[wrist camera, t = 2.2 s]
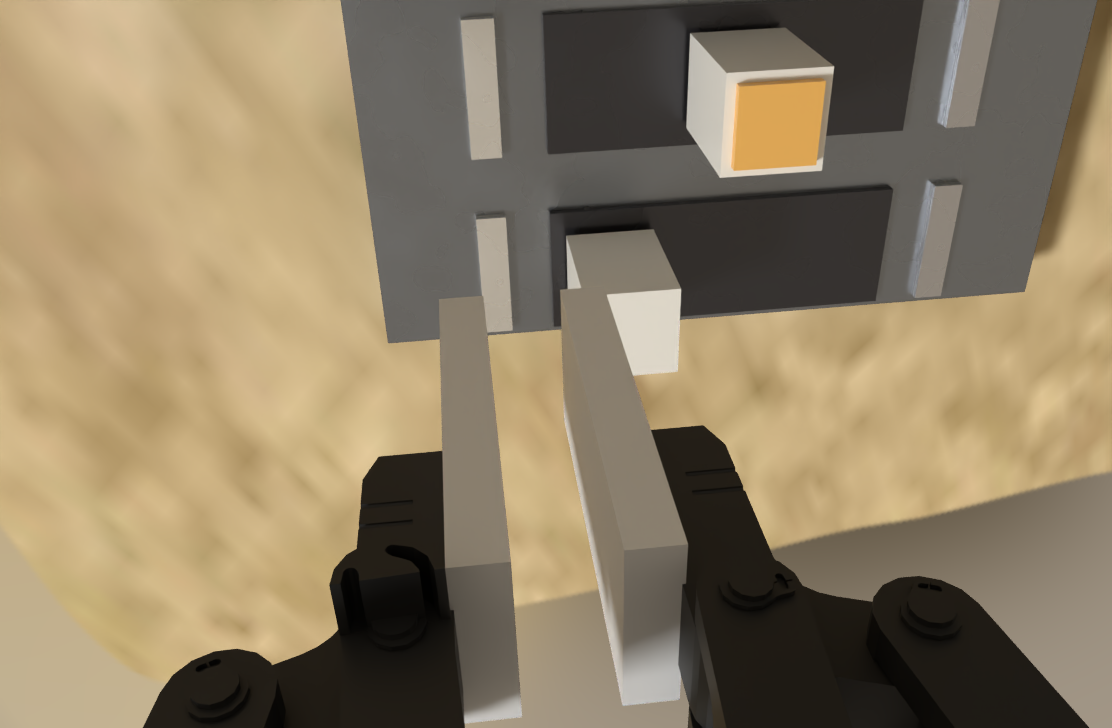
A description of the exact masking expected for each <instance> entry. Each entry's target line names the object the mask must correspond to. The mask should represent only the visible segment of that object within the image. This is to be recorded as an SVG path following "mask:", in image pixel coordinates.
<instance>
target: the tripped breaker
mask: <svg viewBox="0 0 1112 728" xmlns="http://www.w3.org/2000/svg"><path fill="white" fill-rule="evenodd" d="M833 73H834V66H833V65H832V64H831V63H829V62H828V61H827V60H826V59H824V58H823V57H822V56H821V55H819V54H818V53H817V52H815V51H814V50H813V49H812V48H810V47H809V46H808V45H807V44H805V43H804V42H803V41H802V40H800V39H799V38H798V37H797V36H795V35H794V34H793V33H792V32H790V31H789V30H788V29H786V28H769V29H752V30H734V31H717V32H700V33H690V51H689V75H688V99H687V123H686V128H687V130H688V131H689V133H690V134H691V135H692V137H693V138H694V140H695V141H696V143H697V144H698V146H699V147H700V149H701V150H702V152H703V153H704V155H705V156H706V158H707V159H708V161H709V162H710V164H711V165H712V167H713V168H714V170H715V171H716V172H717V174H718V175H719V177H720V178H725V177H739V176H753V175H768V174H782V173H796V172H811V171H822V165H823V157H824V149H825V140H826V132H827V123H828V115H829V106H830V98H831V90H832V81H833Z"/></svg>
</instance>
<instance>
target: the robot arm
mask: <svg viewBox="0 0 1112 728" xmlns="http://www.w3.org/2000/svg"><path fill="white" fill-rule="evenodd" d="M560 297H561V330H562V363H563V396H564V421H565V425H566V430H567V435H568V440H569V445H570V450H571V455H572V460H573V465H574V470H575V474H576V479H577V484H578V489H579V494H580V499H581V504H582V509H583V514H584V519H585V523H586V528H587V533H588V538H589V543H590V548H591V553H592V558H593V563H594V568H595V572H596V577H597V582H598V587H599V592H600V597H601V602H602V607H603V611H604V617H605V621H606V626H607V631H608V636H609V640H610V646H611V651H612V656H613V661H614V666H615V670H616V675H617V680H618V685H619V690H620V695H621V700H622V705H623V706H626V705H635V704H644V703H653V702H662V701H671V700H679V699H680V683H681V677H682V680H683V684H684V688H685V691H686V695H687V699H688V702H689V717H688V728H1089V727H1088V726H1087V725H1086V724H1085V722H1084V721H1083V720H1082V719H1081V718H1080V717H1079V716H1078V715H1077V713H1075V711H1074V710H1073V709H1072V708H1071V707H1070V706H1069V704H1068V703H1067V702H1066V701H1065V700H1064V699H1063V698H1062V697H1061V695H1060V694H1059V693H1058V692H1057V691H1056V690H1055V689H1054V688H1053V687H1052V685H1051V684H1050V683H1049V682H1048V681H1047V680H1046V679H1045V678H1044V676H1043V675H1042V674H1041V673H1040V672H1039V671H1038V670H1037V668H1036V667H1034V665H1033V664H1032V663H1031V662H1030V661H1029V660H1028V658H1027V657H1026V656H1025V655H1024V654H1023V653H1022V652H1021V650H1020V649H1019V648H1018V647H1017V646H1016V645H1015V644H1014V643H1013V641H1011V639H1010V638H1009V637H1008V636H1007V635H1006V634H1005V632H1004V631H1003V630H1002V629H1001V628H1000V627H999V626H998V625H997V624H996V622H995V621H994V620H993V619H992V618H991V617H990V616H989V615H988V614H987V612H986V611H985V610H984V609H983V608H982V607H981V606H980V604H979V603H978V602H976V601H975V600H974V599H973V598H971V597H970V596H969V595H968V594H966V593H965V592H964V591H963V590H962V589H959V588H957V587H955V586H953V585H951V584H948V583H946V582H944V581H942V580H937V579H932V578H926V577H921V576H915V577H903V578H897V579H895V580H893V581H891V582H889V583H887V584H884V585H883V586H882V587H881V588H880V589H879V591H878V592H877V594H876V595H875V596H874V598H873V602H869V601H863V600H856V599H850V598H842V597H836V596H832V595H827V594H823V593H819V592H816V591H814V590H811V589H809V588H807V587H804V586H802V584H801V583H800V581H799V579H798V578H797V576H796V575H795V573H794V572H792V571H791V570H790V569H788V568H787V567H786V566H784V565H783V564H782V563H780V562H779V561H776V560H775V559H774V557H773V555H772V553H771V551H770V548H769V546H768V544H767V541H766V539H765V537H764V534H763V532H762V530H761V527H760V525H759V522H758V520H757V518H756V515H755V513H754V511H753V508H752V506H751V504H750V501H749V499H748V497H747V494H746V492H745V491H743V485H742V483H741V480H740V478H739V476H738V473H737V472H735V466H734V464H733V461H732V459H731V457H730V454H729V452H728V450H727V447H726V445H725V444H724V443H723V442H722V441H721V440H720V439H718V438H717V437H716V436H715V435H714V434H713V433H711V432H710V431H709V430H708V429H707V428H706V427H704V426H703V425H702V426H691V427H680V428H669V429H658V430H651V429H650V426H649V423H648V420H647V417H646V414H645V411H644V408H643V405H642V402H641V399H640V395H639V392H638V389H637V386H636V383H635V380H634V377H633V374H632V371H631V368H630V365H629V362H628V359H627V356H626V353H625V350H624V347H623V343H622V340H621V337H620V334H619V331H618V328H617V325H616V322H615V319H614V316H613V313H612V310H611V307H610V304H609V301H608V298H607V295H606V291H605V288H604V286H602V287H589V288H576V289H563V290H560ZM439 324H440V368H441V411H442V451H437V452H426V453H415V454H404V455H392V456H381V457H378V459H377V460H376V461H375V463H374V464H373V466H372V467H371V469H370V470H369V472H368V473H367V474H366V476H365V477H364V479H363V483H362V494H361V509H360V518H359V530H358V541H357V549H356V550H354V551H352V552H351V553H349V554H347V555H346V556H345V557H344V558H343V559H342V561H341V562H340V563H339V564H338V565H337V566H336V568H335V569H334V571H333V575H332V578H331V581H330V590H331V595H332V600H333V605H334V610H335V615H336V619H337V624H338V629H339V630H338V631H337V632H336V633H335V634H334V635H333V636H332V637H331V638H329V639H328V640H327V641H325V642H324V643H322V644H321V645H319V646H318V647H316V648H314V649H312V650H310V651H308V652H306V653H304V654H301V655H299V656H296V657H293V658H291V659H288V660H285V661H283V662H280V663H277V664H274V665H271V663H270V662H269V661H267V660H266V659H265V658H263V657H262V656H260V655H259V654H258V653H255V652H250V651H245V650H240V649H231V650H223V651H215V652H212V653H210V654H207V655H205V656H202V657H200V658H197V659H195V660H193V661H191V662H190V663H188V664H187V665H186V666H184V667H183V668H182V669H180V670H179V671H178V672H176V673H175V674H174V675H173V676H172V677H171V678H170V680H169V681H168V683H167V684H166V685H165V687H164V688H163V689H162V691H161V692H160V694H159V696H158V698H157V700H156V702H155V704H154V706H153V708H152V710H151V712H150V714H149V716H148V718H147V721H146V723H145V725H144V727H143V728H465V723H473V722H482V721H491V720H499V719H509V718H517V717H522V710H521V696H520V682H519V671H518V670H519V669H518V655H517V641H516V627H515V615H514V614H515V613H514V599H513V585H512V571H511V559H510V549H509V539H508V530H507V520H506V510H505V501H504V491H503V481H502V472H501V462H500V452H499V443H498V433H497V423H496V414H495V404H494V394H493V385H492V375H491V365H490V356H489V346H488V336H487V327H486V317H485V307H484V298H483V296H474V297H461V298H448V299H439Z"/></svg>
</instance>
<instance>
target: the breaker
mask: <svg viewBox="0 0 1112 728" xmlns="http://www.w3.org/2000/svg"><path fill="white" fill-rule="evenodd" d="M566 243H567V281H568V289H576V288H589V287H602V286H604V288H605V291H606V295H607V298H608V301H609V304H610V307H611V310H612V313H613V316H614V319H615V322H616V325H617V328H618V331H619V334H620V337H621V340H622V343H623V347H624V350H625V353H626V356H627V359H628V362H629V365H630V368H631V371H632V374H633V375H645V374H656V373H668V372H678V353H679V329H680V306H681V287H680V285H679V283H678V281H677V279H676V277H675V274H674V272H673V270H672V268H671V266H670V264H669V262H668V259H667V257H666V255H665V253H664V251H663V249H662V247H661V244H660V242H659V240H658V238H657V236H656V234H655V232H654V229H650V230H637V231H623V232H609V233H596V234H582V235H569V236H566Z"/></svg>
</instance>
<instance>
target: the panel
mask: <svg viewBox="0 0 1112 728" xmlns="http://www.w3.org/2000/svg"><path fill="white" fill-rule="evenodd" d="M1096 3H1097V0H341V6H342V13H343V21H344V28H345V35H346V42H347V50H348V57H349V64H350V71H351V78H352V86H353V93H354V100H355V107H356V115H357V122H358V129H359V136H360V143H361V151H362V158H363V165H364V172H365V180H366V187H367V194H368V201H369V208H370V216H371V223H372V230H373V237H374V245H375V252H376V259H377V266H378V273H379V281H380V288H381V295H382V302H383V310H384V317H385V324H386V331H387V338H388V343H398V342H410V341H423V340H435V339H440V324H439V299H448V298H461V297H474V296H483V298H484V307H485V317H486V327H487V335H497V334H509V333H522V332H534V331H546V330H559V329H561V297H560V290H563V289H568V281H567V243H566V236H569V235H582V234H596V233H609V232H623V231H637V230H650V229H654V232H655V234H656V236H657V238H658V240H659V242H660V244H661V247H662V249H663V251H664V253H665V255H666V257H667V259H668V262H669V264H670V266H671V268H672V270H673V272H674V274H675V277H676V279H677V281H678V283H679V285H680V287H681V306H680V320H682V319H695V318H707V317H719V316H732V315H744V314H756V313H769V312H781V311H793V310H806V309H818V308H830V307H843V306H855V305H868V304H880V303H892V302H905V301H917V300H929V299H942V298H954V297H966V296H979V295H991V294H1003V293H1016V292H1025V288H1026V284H1027V280H1028V276H1029V272H1030V268H1031V264H1032V260H1033V256H1034V252H1035V248H1036V244H1037V240H1038V236H1039V232H1040V228H1041V224H1042V220H1043V216H1044V212H1045V208H1046V204H1047V200H1048V196H1049V192H1050V188H1051V184H1052V180H1053V176H1054V172H1055V168H1056V164H1057V160H1058V156H1059V152H1060V148H1061V144H1062V140H1063V136H1064V132H1065V128H1066V124H1067V120H1068V116H1069V112H1070V108H1071V104H1072V100H1073V96H1074V92H1075V88H1076V84H1077V80H1078V76H1079V72H1080V68H1081V64H1082V60H1083V56H1084V52H1085V48H1086V44H1087V40H1088V36H1089V32H1090V28H1091V24H1092V20H1093V16H1094V12H1095V7H1096ZM769 28H786V29H788V30H789V31H790V32H792V33H793V34H794V35H795V36H797V37H798V38H799V39H800V40H802V41H803V42H804V43H805V44H807V45H808V46H809V47H810V48H812V49H813V50H814V51H815V52H817V53H818V54H819V55H821V56H822V57H823V58H824V59H826V60H827V61H828V62H829V63H831V64H832V65H833V66H834V73H833V81H832V90H831V98H830V106H829V115H828V123H827V132H826V140H825V149H824V157H823V165H822V171H811V172H796V173H782V174H768V175H753V176H739V177H725V178H720V177H719V175H718V174H717V172H716V171H715V170H714V168H713V167H712V165H711V164H710V162H709V161H708V159H707V158H706V156H705V155H704V153H703V152H702V150H701V149H700V147H699V146H698V144H697V143H696V141H695V140H694V138H693V137H692V135H691V134H690V133H689V131H688V130H687V128H686V123H687V99H688V75H689V51H690V33H700V32H717V31H734V30H752V29H769Z"/></svg>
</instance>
